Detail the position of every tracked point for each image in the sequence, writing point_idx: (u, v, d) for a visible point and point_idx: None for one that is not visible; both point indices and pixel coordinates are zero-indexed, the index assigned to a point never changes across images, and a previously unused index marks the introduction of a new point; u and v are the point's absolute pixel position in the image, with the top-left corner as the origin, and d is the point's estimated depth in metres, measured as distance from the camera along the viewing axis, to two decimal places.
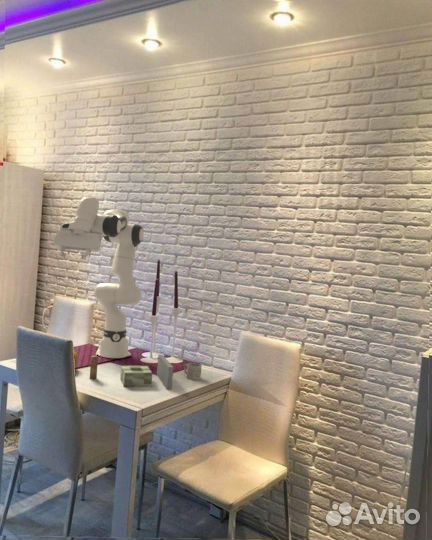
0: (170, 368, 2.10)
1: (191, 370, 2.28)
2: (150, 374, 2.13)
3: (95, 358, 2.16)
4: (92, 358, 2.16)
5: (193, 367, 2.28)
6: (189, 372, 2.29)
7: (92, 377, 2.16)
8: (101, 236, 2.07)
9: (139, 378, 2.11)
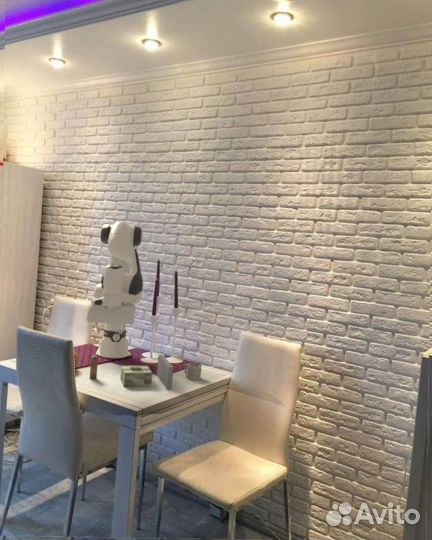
0: (170, 368, 2.10)
1: (191, 370, 2.28)
2: (150, 374, 2.13)
3: (95, 358, 2.16)
4: (92, 358, 2.16)
5: (193, 367, 2.28)
6: (189, 372, 2.29)
7: (92, 377, 2.16)
8: (134, 308, 2.13)
9: (139, 378, 2.11)
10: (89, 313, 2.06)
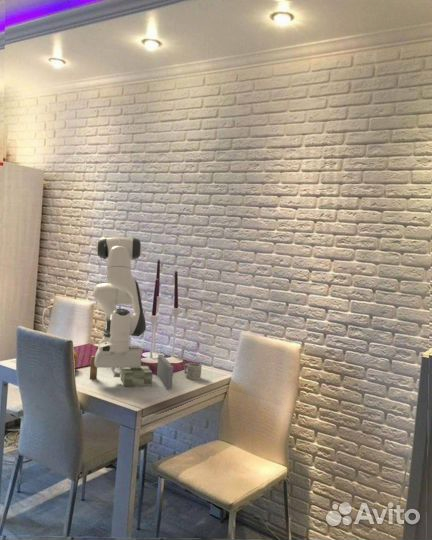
0: (170, 368, 2.10)
1: (191, 370, 2.28)
2: (150, 374, 2.13)
3: None
4: (92, 358, 2.16)
5: (193, 367, 2.28)
6: (189, 372, 2.29)
7: (92, 377, 2.16)
8: (141, 352, 2.16)
9: (139, 378, 2.11)
10: (97, 359, 2.09)
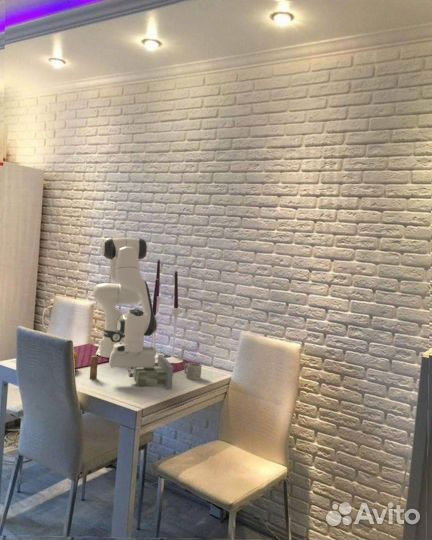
0: (170, 368, 2.10)
1: (191, 370, 2.28)
2: (163, 374, 2.15)
3: (95, 358, 2.16)
4: (92, 358, 2.16)
5: (193, 367, 2.28)
6: (189, 372, 2.29)
7: (92, 377, 2.16)
8: (155, 352, 2.18)
9: (153, 378, 2.13)
10: (112, 359, 2.11)
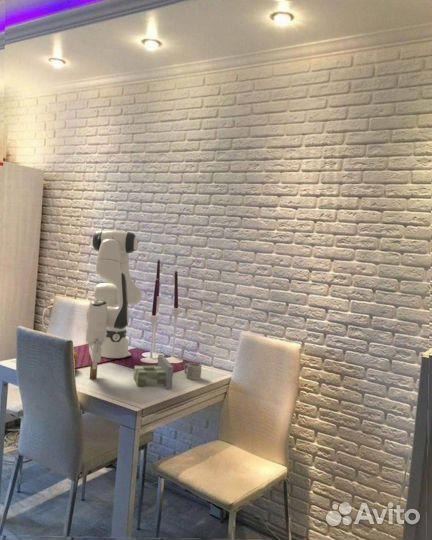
0: (170, 368, 2.10)
1: (191, 370, 2.28)
2: (163, 374, 2.15)
3: None
4: None
5: (193, 367, 2.28)
6: (189, 372, 2.29)
7: (92, 377, 2.16)
8: (96, 347, 2.07)
9: (153, 378, 2.13)
10: None
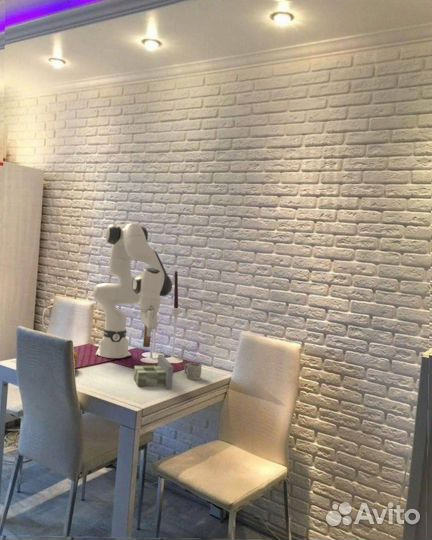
0: (170, 368, 2.10)
1: (191, 370, 2.28)
2: (163, 374, 2.15)
3: None
4: (146, 326, 2.16)
5: (193, 367, 2.28)
6: (189, 372, 2.29)
7: (146, 345, 2.16)
8: (152, 313, 2.07)
9: (153, 378, 2.13)
10: None
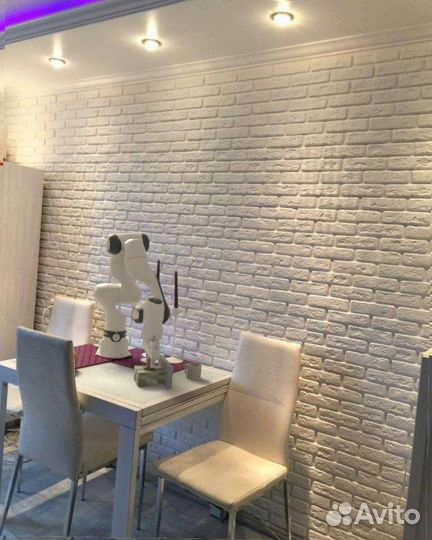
0: (170, 368, 2.10)
1: (191, 370, 2.28)
2: (163, 374, 2.15)
3: None
4: (148, 360, 2.17)
5: (193, 367, 2.28)
6: (189, 372, 2.29)
7: None
8: (155, 344, 2.08)
9: (153, 378, 2.13)
10: (143, 341, 2.26)
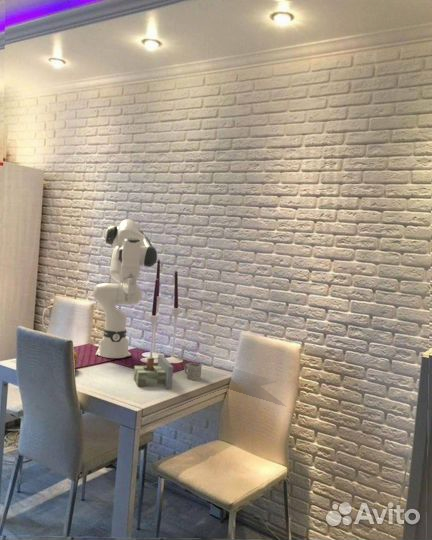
0: (170, 368, 2.10)
1: (191, 370, 2.28)
2: (163, 374, 2.15)
3: (151, 360, 2.17)
4: (148, 360, 2.17)
5: (193, 367, 2.28)
6: (189, 372, 2.29)
7: None
8: (132, 280, 2.16)
9: (153, 378, 2.13)
10: (121, 282, 2.33)
